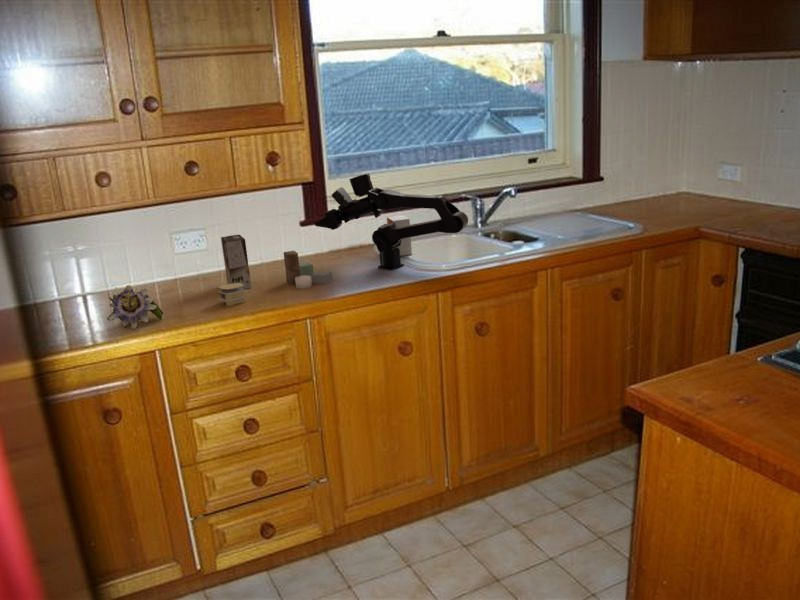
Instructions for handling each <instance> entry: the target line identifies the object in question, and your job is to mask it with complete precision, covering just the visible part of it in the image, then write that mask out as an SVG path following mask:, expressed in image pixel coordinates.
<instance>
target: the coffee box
mask: <svg viewBox="0 0 800 600" xmlns="http://www.w3.org/2000/svg"><path fill="white" fill-rule="evenodd" d="M220 241H221V247H222V254H223V260H224V262H223V263H224V269H225V276H226V281H227V283H226V284H234V283H242V284H243V285H244V286H241V287H242V288H243V289H244V290H247V289H251V288H252V283H251V275H250V268H249V267H250V266H249V257H248V250H247V245H246V244H247V243H246V239H245V237H243V236H242V235H241V234H231V235H227V236H221V237H220Z"/></svg>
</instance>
